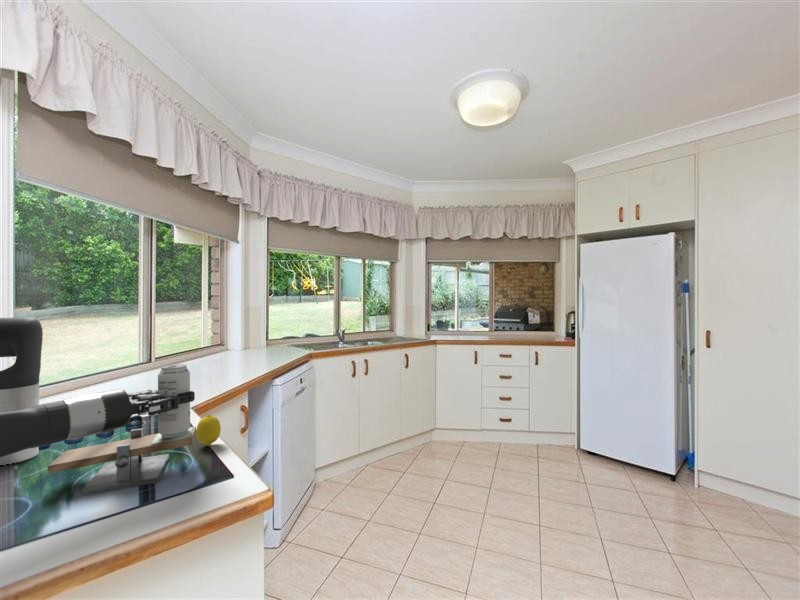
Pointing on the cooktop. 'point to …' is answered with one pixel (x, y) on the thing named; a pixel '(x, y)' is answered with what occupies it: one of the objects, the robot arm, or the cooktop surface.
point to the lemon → (208, 430)
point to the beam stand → (127, 470)
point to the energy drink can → (170, 383)
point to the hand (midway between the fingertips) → (185, 394)
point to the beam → (109, 450)
